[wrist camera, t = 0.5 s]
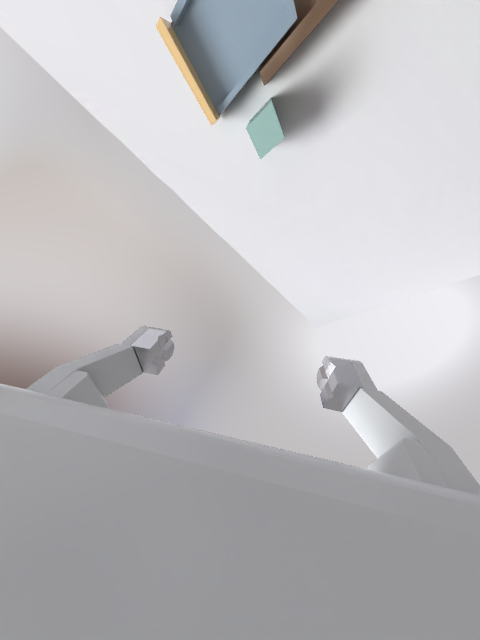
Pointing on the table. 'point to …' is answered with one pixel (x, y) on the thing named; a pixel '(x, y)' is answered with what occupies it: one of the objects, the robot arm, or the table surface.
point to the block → (265, 129)
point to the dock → (295, 34)
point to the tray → (223, 44)
